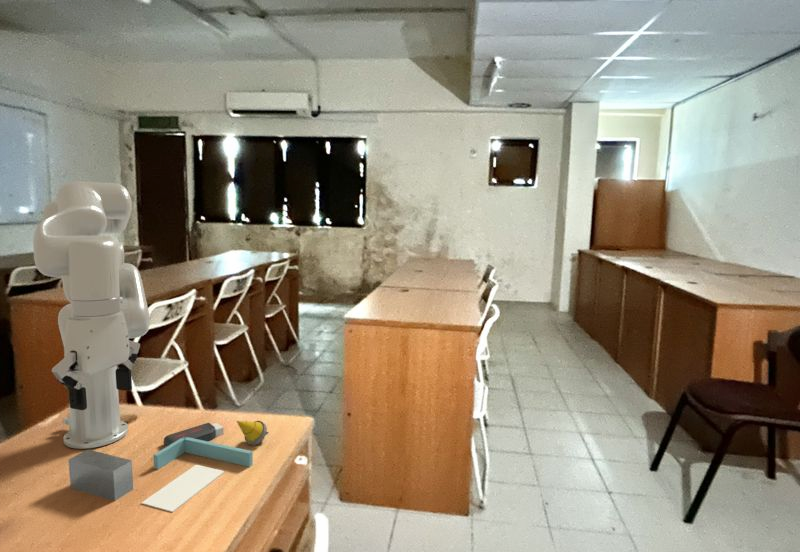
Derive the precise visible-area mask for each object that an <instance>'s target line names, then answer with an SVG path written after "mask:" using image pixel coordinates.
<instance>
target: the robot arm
mask: <svg viewBox="0 0 800 552" xmlns="http://www.w3.org/2000/svg"><path fill="white" fill-rule="evenodd" d="M132 207H133V205H132V198H131V195H130V192H129V191H128V189H127V188H126V187H125V186H124V185H123V184H120V183H116V182H101V181H97V182H96V181H72V182H71V181H70V182H68V183H65V184H64V185H62V186H61V187H60V188H59V189H58V190H57V193H56V200H53V201H49V202H48V203H47V204H46V205H45V206H44V208H43V211H42V220H41V221H40V222H39V223H38V224H37V226H36V227H35V231H34V234H33V242H32V243H33V261H34V264H35V267H36V269H37V271H39V273H40V274H42V275H43V276H46V277H51V278H52V277H56V278H58V277H61V281H62V288H63V293H64V296H65V299H66V300H67V301H68V302H70V303H68V304H66V305H64V306H63V307H62V308H61V309H60V311H59V313H58V316H57V324H58V329H59V332H60V333H59V334H60V335H61V336H60V337H61V341H62V344H63V345H62V346H63V352H64V354H63V357H64V358H62V359H61V360H60V361H59V362H58V363H57V364H55V365H54V366H53V367H52V368H51V372H52V374H53V375H54V377H55V379H57V382H58V383H60V384H62V385H63V387H64V388H67V389H68V392H67V393H68V402H69V403H68V405H69V413H68V414H67V417H64V418H63V419H62V421H61V422H62V424H64V425H67V426H68V431H67V432H66V433H64V436H63V445H65V446H66V447H68V448H72V449H77V450H85V449H86V450H88V449H94V448H99V447H103V446H107V445H110V444H112V443H115V442H117V441H119V440H120V439H122V438H124V437H125V436H126V435H127V434H128V432H129V425H128V424H127V423H126V422H125V421H123V420H121V416H120V415H121V414H120V397H119V391H123V392H124V391H126V392H130V391H132V390H133V382H132V380H133V379H132V370H133V369H134V368H135V365H134V364H135V362H136V360H137V359H138V353H139V350H140V348H141V343H140V342H136V341H133V340H130V339H135V338H140V337H144V335H146V334H147V333H148V332H149V329H150V325H151V322H150V320H151V319H150V312H149V308H148V307H149V306H148V302H147V299H146V298H147V297H146V293H145V289H144V285H143V284H144V283H143V280H142V276H141V274H140V273H141V272H140V271H139V269H138V268H137V267H136V266H135V265H134V264H131V263H128V262H125V255H126V254H125V249H124V245H123V243H121V242H120V241H119V239H118V238H117V237H115V236H112V235H105V234H120V233H122V232H124V231H125V230H126V228H127V226H128V224H129V220H130V218H131V214H132ZM103 234H104V235H103Z"/></svg>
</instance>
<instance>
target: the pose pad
mask: <svg viewBox="0 0 800 552" xmlns="http://www.w3.org/2000/svg"><path fill="white" fill-rule="evenodd" d="M225 472H226V471H224V470H221V469H216V468H212V467H208V466H205V465H204V466H203V465H199V464H194V465H193V466H192V467H191V468H189V469H188V470H186V471H185V472H183V473H182V474H181V475H179V476H177V477H176V478H175V479H173V480H172V481H170V482H169V483H167V484H166V485H165V486H163V487H162V488H161V489H159V490H158V491H156V492H154V493H153V494H152V495H150V496H148V497H147V498H146V499H145V500H143V501H142V502H141V505H145V506H148V507H152V508H155V509H159V510H162V511H167V512H171V513H174V512H176V510H178V509H179V508H180V507H182V506H183V505H184V504H185V503H187V502H188V501H189V500H191V499H192V498H193V497H195V496H197V494H199V492H201V491H202V490H204V489H205V488H206V487H207V486H209V485H210V484H211V483H213V482H214V481H215V480H217V479H218V478H219V477H221V475H223V474H225Z"/></svg>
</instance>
